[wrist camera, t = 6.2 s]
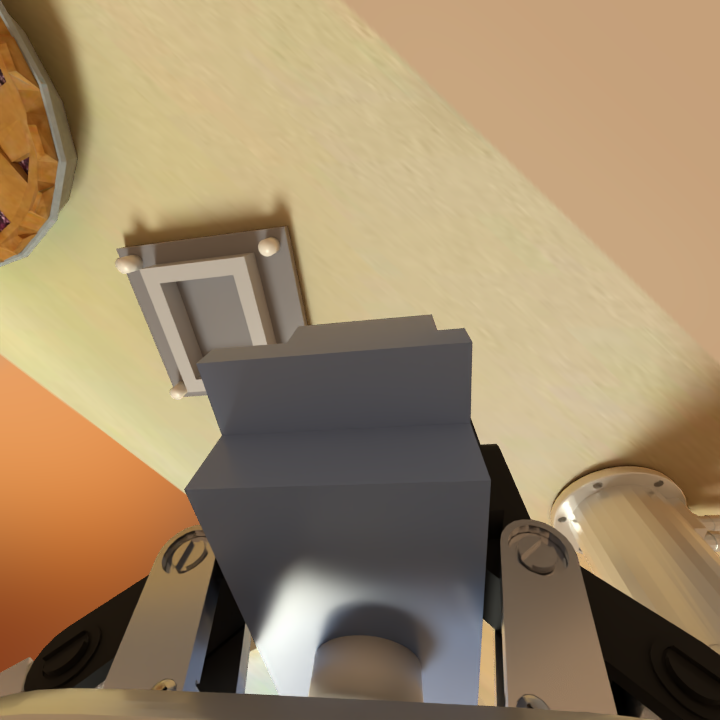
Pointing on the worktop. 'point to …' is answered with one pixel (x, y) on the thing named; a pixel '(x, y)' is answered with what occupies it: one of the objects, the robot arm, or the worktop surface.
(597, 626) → the robot arm
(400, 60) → the worktop surface
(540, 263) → the worktop surface
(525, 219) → the worktop surface
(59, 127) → the pie
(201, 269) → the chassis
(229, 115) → the worktop surface
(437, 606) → the block
